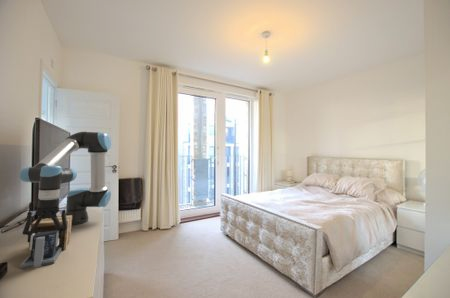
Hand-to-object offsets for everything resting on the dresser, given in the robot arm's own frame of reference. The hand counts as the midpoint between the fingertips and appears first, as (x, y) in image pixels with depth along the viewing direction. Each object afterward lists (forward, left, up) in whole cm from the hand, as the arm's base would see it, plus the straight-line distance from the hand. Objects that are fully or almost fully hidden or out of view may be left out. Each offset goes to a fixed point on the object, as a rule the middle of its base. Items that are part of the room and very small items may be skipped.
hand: (44, 247), depth 92 cm
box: (0, 0, -4) cm, 4 cm away
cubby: (-11, 0, -5) cm, 12 cm away
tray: (+2, 0, -5) cm, 5 cm away
